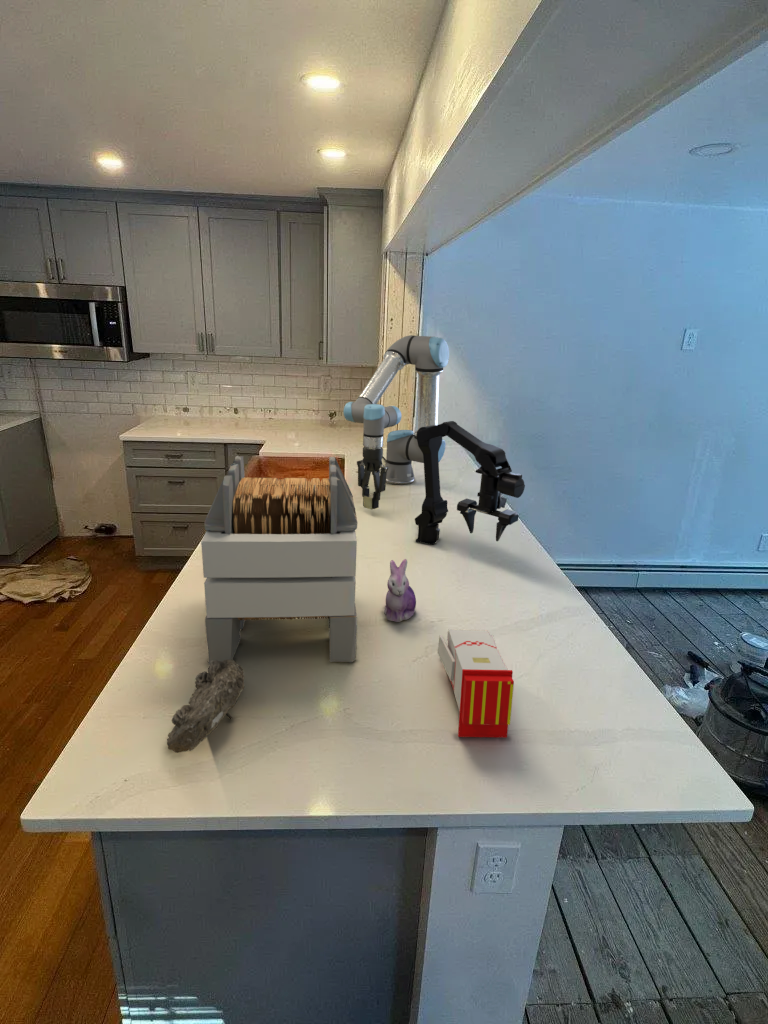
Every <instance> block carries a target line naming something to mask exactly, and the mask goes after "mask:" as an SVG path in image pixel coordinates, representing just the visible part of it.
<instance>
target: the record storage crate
mask: <svg viewBox="0 0 768 1024" xmlns="http://www.w3.org/2000/svg"><path fill="white" fill-rule="evenodd" d="M328 458H329V459H328V477H327V478H326V477H325V478H324V477H323V478H319V477H312V478H310V479H307V478H306V477H284V478H277V477H245V476H246V475H245V462H244V456H243V455H242V456H241V455H240V456H239V455H235V457H234V459H233V461H232V463H231V464H230V466H229V468H228V471H227V473H226V475H224V477H223V479H222V480H221V483H220V486H219V487H218V490H217V491H216V495H215V497H214V499H213V501H212V504H211V506H210V508H209V511H207V515H206V517H205V519H204V521H203V522H204V523H203V524H204V530H205V533H204V534H203V537H202V538H201V540H200V541H201V542H200V544H201V556H202V558H201V559H202V574H203V579H205V578H206V579H205V581H204V583H203V586H204V587H203V588H204V600H205V612H206V613H205V618H204V624H205V625H204V626H205V639H206V646H207V660H208V661H207V664H208V666H209V665H210V662H211V661H212V660H217V661H222V662H223V661H224V660H227V659H228V660H231V659H232V660H234V658H235V654H236V652H237V649H238V647H239V645H240V642H241V631H242V630H243V629H244V626H245V625H244V624H245V621H265V620H267V621H270V620H273V621H275V620H276V621H277V620H282V621H283V620H303V619H304V620H312V619H313V620H317V619H319V620H321V619H327V620H328V645H329V646H328V649H329V651H328V652H329V662H330V663H339V662H340V663H344V662H345V663H353V662H354V661H355V660H356V659H357V630H358V629H357V626H358V625H357V623H358V614H357V607H356V587H357V586H356V585H357V584H356V576H357V575H356V574H357V551H358V550H357V549H358V548H357V546H358V539H357V532H356V530H357V529H358V517H357V512H356V507H355V501H354V495H353V493H352V491H351V488H350V487H349V485H348V482H347V480H346V478H345V476H344V473H343V471H342V469H341V467H340V465H339V463H338V461H337V458H336V457H335V456H329V457H328Z"/></svg>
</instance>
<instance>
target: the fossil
mask: <svg viewBox="0 0 768 1024" xmlns="http://www.w3.org/2000/svg"><path fill="white" fill-rule="evenodd" d="M243 670H244V669H243V667H242V665H240V664H237V662H236V661H235V660H234V659H233V660H232V659H231V660H228V659H227V660H224V661H223V662H222V661H217V660H212V661H211V662H210V665H209V664H208V666H207V671H201V672H199V673H198V674H197V675H196V676H195V680H194V684H195V685H194V687H195V689H194V690H193V693H192V694H191V697H190V698H189V700H188V704H184V705H182V706H181V707H180V709H177V710H176V711H175V713H174V715H173V716H172V718H171V723H172V724H173V727H172V730H171V731H170V732H168V734H167V738H166V741H167V742H166V745H167V749H168V750H169V751H173V752H174V753H176V754H178V753H182V752H188V751H189V752H192V751H193V750H195V748H196V747H197V746H199V744H200V743H201V742H203V741H204V740H205V739H206V738H207V737H208V736H209V735H210V734H211V733H212V732H214V730H215V729H217V727H218V726H219V724H220V722H221V721H222V720H223V719H224V718H225V716H226V717H227V719H229V720H233V717H232V715H230V714H229V710H230V709H231V708H234V706H235V704H236V703H237V702H238V699H239V697H240V695H241V693H242V691H243V690H245V689H244V688H245V675H244V671H243Z"/></svg>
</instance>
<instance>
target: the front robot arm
mask: <svg viewBox="0 0 768 1024" xmlns="http://www.w3.org/2000/svg"><path fill="white" fill-rule="evenodd" d="M417 430H418V429H417ZM417 430H416V431H417ZM416 437H417V442H418V446H419V448H420V450H421V451H422V453H423V460H424V463H423V474H424V491H425V497H424V499H423V502H422V504H421V513H420V514H419V515H417V516H416V517H415V518H414V523H415V525H416V526H418V527H417V538H416V539H415V542H417V543H421V544H425V545H430V546H435V544H436V543H437V542H438V541H439V540H440V532H441V528H439V526H440V524H442V523H443V521H444V520H445V518H446V517H447V515H448V512H449V509H448V500H447V499H444V498H443V497H442V495H441V481H440V462H439V460H438V452H439V449H440V447H441V444H442V439H443V438H445V437H448V438H449V439H451V440H452V441H454V442H455V443H456V444H458V445H459V446H460V447H462V448H464V449H465V450H466V451H467V452H468V453H471V454H472V455H473V456H474V459H475V461H476V462H477V463H478V464H479V465H480V467H479V468H477V469H476V470H475V473H476V474H479V475H480V474H481V477H480V485H479V491H478V492H477V497H478V502H477V500H474V499H470V498H464V499H462V500H460V501H458V502H457V504H456V511H458V512H459V514H460V515H462V517H463V519H464V521H465V523H466V526H467V528H468V531H469V534H473V533H474V529H475V516H476V513H477V512H478V513H481V514H485V515H489V516H492V517H496V518H497V522H496V525H495V526H496V530H495V541H496V542H499V541H500V539H501V538H502V535H503V533H504V531H505V529H506V528H507V526H511V525H513V524H514V523H516V522H518V521H519V514H518V511H515V510H511V509H506V505H507V501H508V498H506V497H503V496H502V494H503V495H506V496H509V497H512V498H516V499H520V497H521V496H522V495H523V494H524V491H525V488H526V485H525V481H524V479H523V474H520V473H514V472H513V469H512V467H511V464H509V463H510V462H509V461H508V458H507V456H506V452H505V450H504V449H503V448H502V447H499V446H496V445H494V444H491V443H487V442H484V441H482V440H481V439H480V438H478V437H476V436H475V435H473V433H471V432H469V431H468V430H466V429H465V428H463V427H462V426H460V425H459V424H458V423H457V422H456V421H454V420H449V421H443V422H442V423H438V425H432V426H426V427H421V428H419V430H418V431H417V433H416ZM501 508H503V509H505V510H502V511H501V510H500V509H501Z"/></svg>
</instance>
